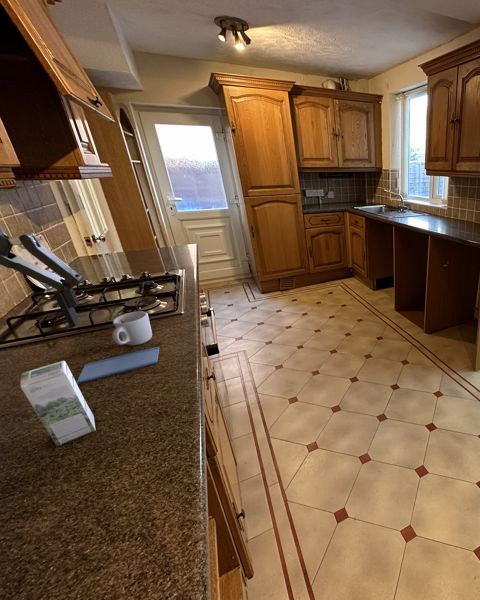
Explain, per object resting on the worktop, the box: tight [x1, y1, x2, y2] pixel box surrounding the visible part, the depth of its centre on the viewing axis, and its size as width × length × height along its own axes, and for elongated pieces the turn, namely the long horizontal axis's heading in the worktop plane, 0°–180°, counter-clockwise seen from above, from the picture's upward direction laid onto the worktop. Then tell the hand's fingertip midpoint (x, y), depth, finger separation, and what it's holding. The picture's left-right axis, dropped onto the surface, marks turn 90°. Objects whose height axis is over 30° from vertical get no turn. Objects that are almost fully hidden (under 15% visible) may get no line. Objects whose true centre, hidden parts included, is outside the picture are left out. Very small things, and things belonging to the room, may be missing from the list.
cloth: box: [75, 346, 160, 385], centre depth 84 cm, size 16×9×1 cm, turn 121°
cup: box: [112, 310, 153, 346], centre depth 92 cm, size 11×8×8 cm
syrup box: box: [19, 360, 97, 447], centre depth 61 cm, size 6×6×14 cm
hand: (22, 334), depth 55 cm, fingers open, 13 cm apart
